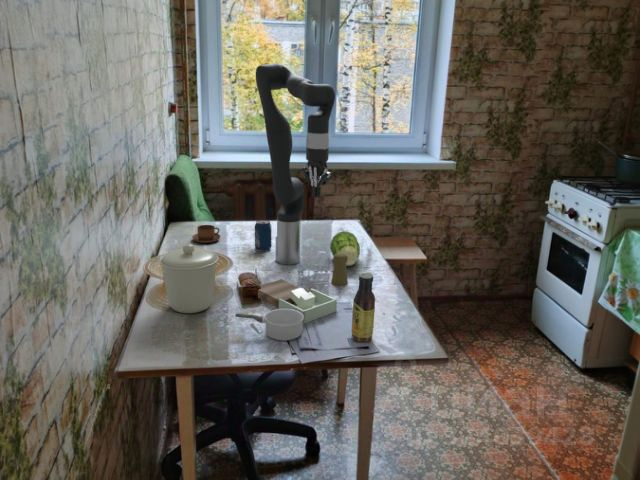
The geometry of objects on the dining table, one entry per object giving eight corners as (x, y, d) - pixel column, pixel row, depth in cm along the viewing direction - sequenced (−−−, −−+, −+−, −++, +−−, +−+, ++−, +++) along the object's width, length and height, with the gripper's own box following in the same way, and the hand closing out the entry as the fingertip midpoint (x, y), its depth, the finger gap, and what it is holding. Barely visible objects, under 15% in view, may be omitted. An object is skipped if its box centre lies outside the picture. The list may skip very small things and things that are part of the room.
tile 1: (289, 296, 185) (291, 290, 184) (299, 293, 188) (301, 287, 187) (297, 305, 183) (299, 299, 182) (308, 301, 186) (310, 295, 185)
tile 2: (300, 295, 181) (305, 300, 179) (310, 291, 184) (315, 296, 182) (297, 306, 183) (301, 311, 182) (307, 302, 186) (312, 307, 185)
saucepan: (240, 322, 174) (239, 305, 172) (305, 326, 173) (305, 309, 171) (231, 340, 163) (231, 322, 162) (301, 344, 162) (301, 326, 160)
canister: (157, 299, 188) (154, 238, 182) (212, 292, 195) (210, 233, 189) (166, 322, 172) (163, 256, 166) (225, 314, 179) (224, 250, 173)
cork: (346, 286, 204) (347, 257, 200) (329, 284, 205) (330, 255, 201) (349, 280, 209) (350, 252, 206) (332, 278, 210) (333, 250, 207)
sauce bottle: (349, 333, 169) (353, 270, 163) (370, 333, 170) (374, 270, 164) (352, 343, 163) (356, 279, 157) (374, 343, 164) (378, 278, 158)
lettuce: (333, 273, 216) (334, 244, 213) (328, 255, 236) (329, 228, 232) (363, 273, 217) (365, 244, 214) (356, 255, 237) (357, 229, 233)
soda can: (273, 247, 243) (273, 220, 240) (268, 252, 237) (269, 224, 233) (257, 245, 244) (257, 218, 241) (252, 251, 238) (252, 223, 234)
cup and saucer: (206, 234, 258) (206, 221, 256) (226, 240, 251) (225, 226, 249) (186, 241, 248) (185, 227, 246) (205, 246, 242) (205, 232, 240)
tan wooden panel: (253, 295, 194) (253, 287, 193) (281, 286, 202) (281, 279, 201) (281, 309, 183) (281, 301, 183) (309, 300, 191) (309, 292, 190)
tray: (278, 310, 183) (278, 298, 182) (311, 299, 192) (311, 288, 191) (303, 323, 174) (303, 311, 173) (336, 311, 184) (336, 299, 182)
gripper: (296, 144, 192) (295, 194, 198) (322, 149, 183) (321, 202, 189) (312, 142, 197) (311, 192, 203) (339, 147, 188) (337, 199, 193)
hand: (316, 196), depth 196 cm, fingers closed
